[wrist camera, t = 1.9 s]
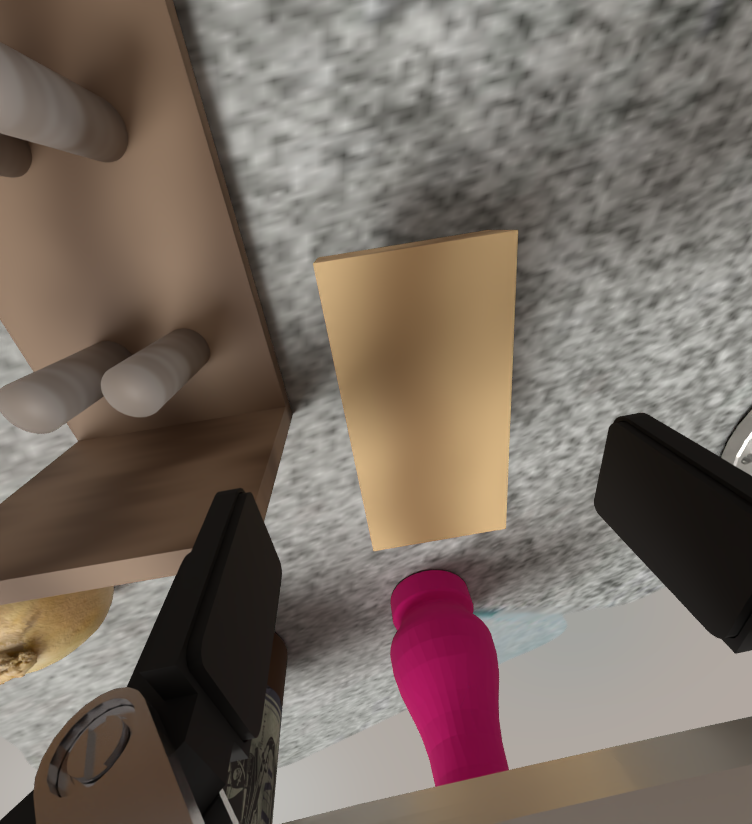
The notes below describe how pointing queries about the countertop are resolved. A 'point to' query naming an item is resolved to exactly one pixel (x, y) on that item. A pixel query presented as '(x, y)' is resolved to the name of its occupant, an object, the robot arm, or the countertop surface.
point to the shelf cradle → (122, 300)
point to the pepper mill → (447, 675)
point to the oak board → (426, 380)
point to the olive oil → (261, 752)
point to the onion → (48, 629)
